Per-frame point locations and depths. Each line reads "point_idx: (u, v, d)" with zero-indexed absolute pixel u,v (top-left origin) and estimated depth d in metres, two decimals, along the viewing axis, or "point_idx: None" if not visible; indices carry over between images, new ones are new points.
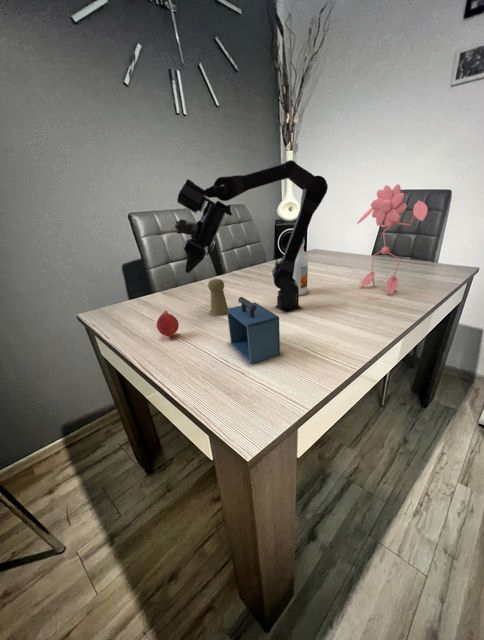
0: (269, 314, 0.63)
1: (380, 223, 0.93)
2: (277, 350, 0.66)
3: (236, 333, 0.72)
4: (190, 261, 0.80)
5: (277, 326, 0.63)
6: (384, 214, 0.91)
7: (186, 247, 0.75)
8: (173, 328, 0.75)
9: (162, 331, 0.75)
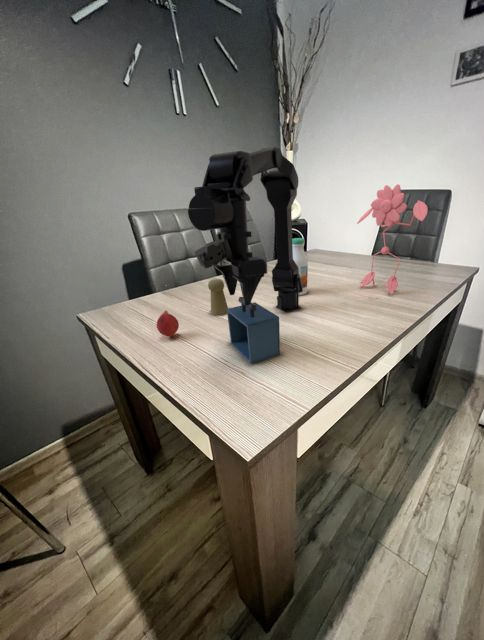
0: (269, 314, 0.63)
1: (380, 223, 0.93)
2: (277, 350, 0.66)
3: (236, 333, 0.72)
4: (247, 288, 0.57)
5: (277, 326, 0.63)
6: (384, 214, 0.91)
7: (244, 273, 0.52)
8: (173, 328, 0.75)
9: (162, 331, 0.75)
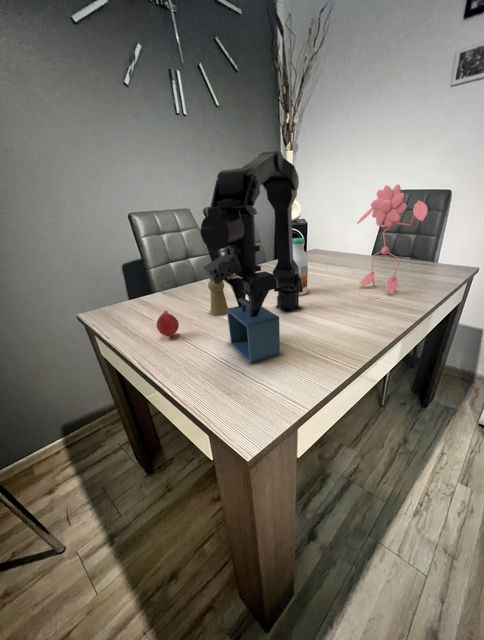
0: (269, 314, 0.63)
1: (380, 223, 0.93)
2: (277, 350, 0.66)
3: (236, 333, 0.72)
4: (255, 301, 0.59)
5: (277, 326, 0.63)
6: (384, 214, 0.91)
7: (255, 289, 0.52)
8: (173, 328, 0.75)
9: (162, 331, 0.75)
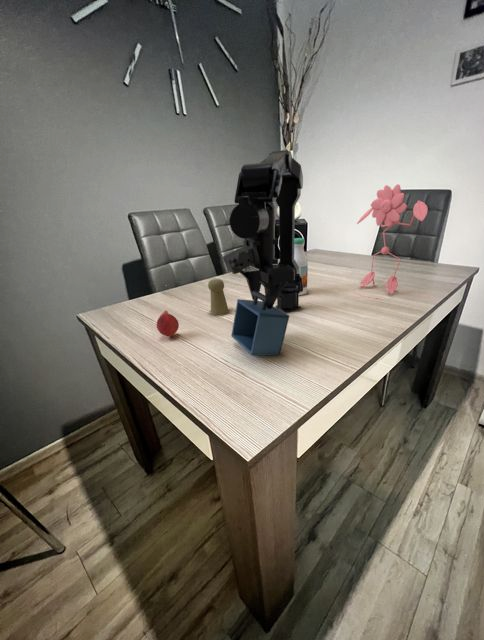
0: (280, 312, 0.65)
1: (380, 223, 0.93)
2: (278, 349, 0.66)
3: (239, 326, 0.71)
4: (271, 293, 0.60)
5: (285, 324, 0.64)
6: (384, 214, 0.91)
7: (274, 280, 0.54)
8: (173, 328, 0.75)
9: (162, 331, 0.75)
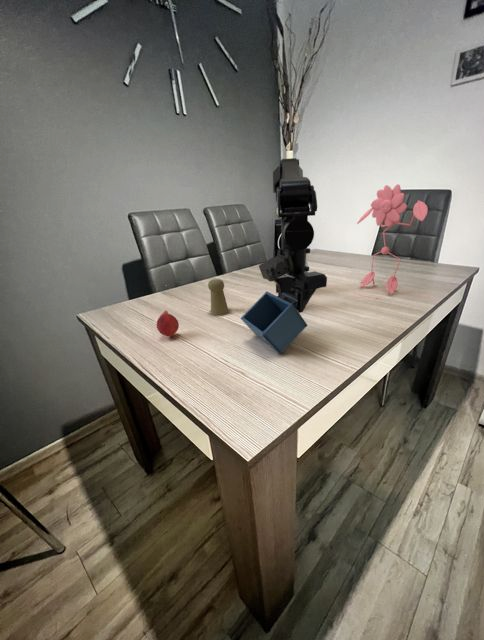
0: None
1: (380, 223, 0.93)
2: (282, 349, 0.67)
3: (252, 315, 0.72)
4: (303, 298, 0.65)
5: (300, 330, 0.67)
6: (384, 214, 0.91)
7: (309, 287, 0.58)
8: (173, 328, 0.75)
9: (162, 331, 0.75)
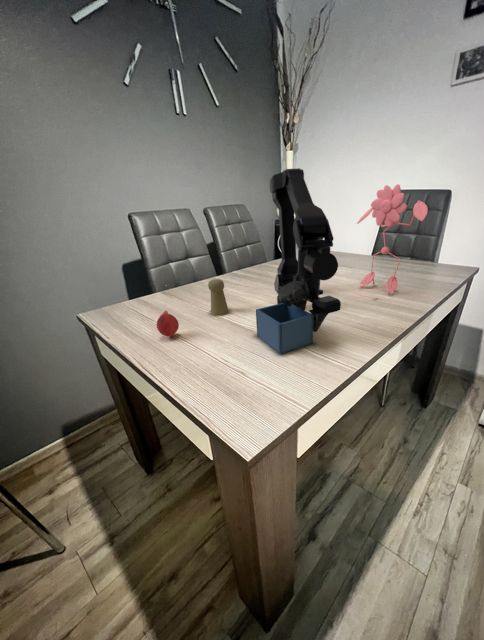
0: None
1: (380, 223, 0.93)
2: (284, 350, 0.67)
3: (266, 313, 0.74)
4: (318, 319, 0.70)
5: (305, 344, 0.70)
6: (384, 214, 0.91)
7: (325, 312, 0.64)
8: (173, 328, 0.75)
9: (162, 331, 0.75)
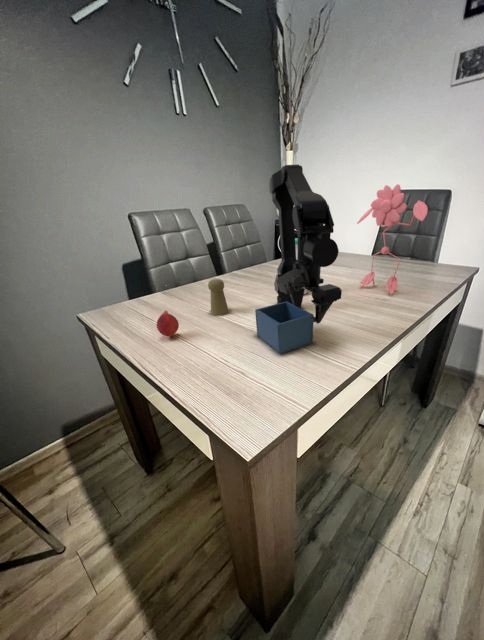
0: None
1: (380, 223, 0.93)
2: (284, 350, 0.67)
3: (266, 313, 0.74)
4: (321, 310, 0.68)
5: (305, 343, 0.70)
6: (384, 214, 0.91)
7: (325, 300, 0.62)
8: (173, 328, 0.75)
9: (162, 331, 0.75)
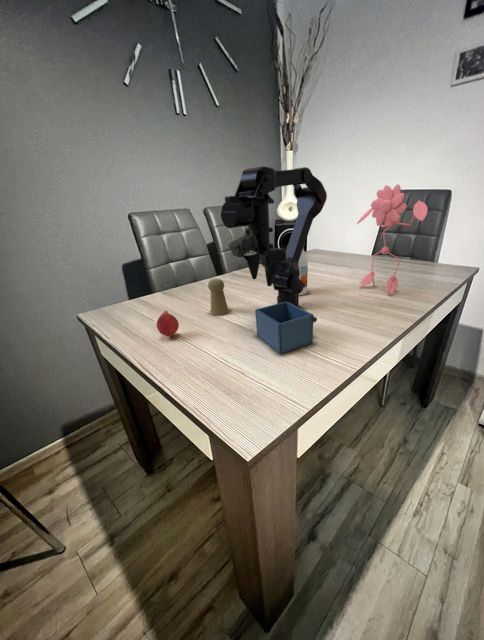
0: None
1: (380, 223, 0.93)
2: (284, 350, 0.67)
3: (266, 313, 0.74)
4: (270, 272, 0.73)
5: (305, 343, 0.70)
6: (384, 214, 0.91)
7: (270, 260, 0.68)
8: (173, 328, 0.75)
9: (162, 331, 0.75)
